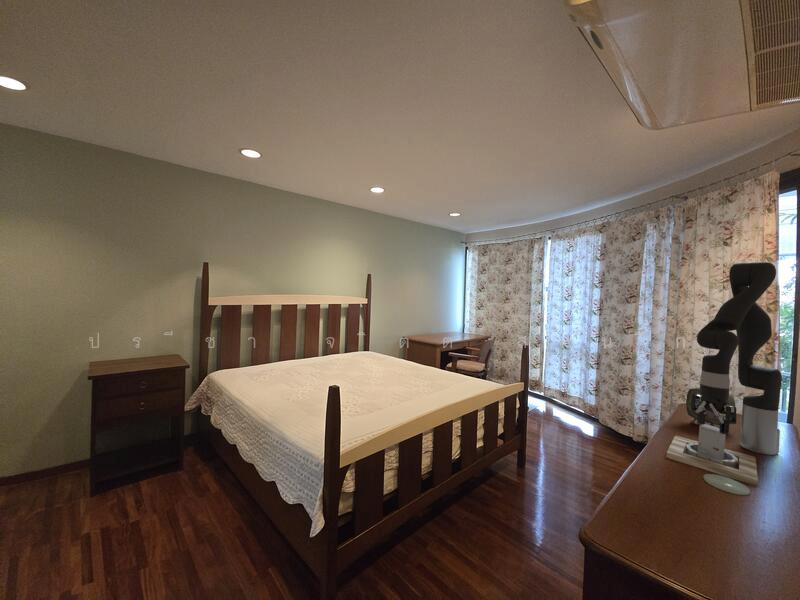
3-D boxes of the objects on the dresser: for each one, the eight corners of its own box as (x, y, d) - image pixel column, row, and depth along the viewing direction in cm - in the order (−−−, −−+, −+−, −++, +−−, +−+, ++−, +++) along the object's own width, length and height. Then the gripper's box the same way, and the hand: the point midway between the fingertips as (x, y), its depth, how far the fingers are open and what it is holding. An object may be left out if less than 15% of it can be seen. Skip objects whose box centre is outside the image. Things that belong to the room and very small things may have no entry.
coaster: (726, 476, 102) (726, 474, 102) (760, 496, 92) (760, 494, 92) (694, 474, 103) (695, 473, 103) (725, 494, 93) (725, 492, 93)
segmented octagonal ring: (712, 452, 119) (712, 444, 119) (748, 471, 106) (748, 462, 106) (677, 450, 120) (677, 442, 120) (708, 468, 107) (709, 460, 107)
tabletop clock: (685, 423, 147) (687, 371, 147) (695, 420, 151) (697, 370, 150) (726, 436, 134) (729, 379, 134) (736, 433, 137) (739, 377, 137)
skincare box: (696, 457, 115) (697, 424, 115) (702, 454, 117) (704, 423, 116) (718, 465, 109) (720, 431, 109) (724, 463, 111) (726, 430, 111)
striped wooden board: (674, 440, 128) (675, 435, 128) (755, 462, 112) (755, 457, 112) (666, 457, 114) (666, 452, 114) (757, 486, 97) (757, 479, 97)
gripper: (746, 391, 105) (743, 438, 105) (706, 380, 119) (704, 421, 119) (723, 389, 105) (720, 436, 106) (686, 378, 120) (684, 420, 120)
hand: (711, 428), depth 112 cm, fingers open, 8 cm apart
